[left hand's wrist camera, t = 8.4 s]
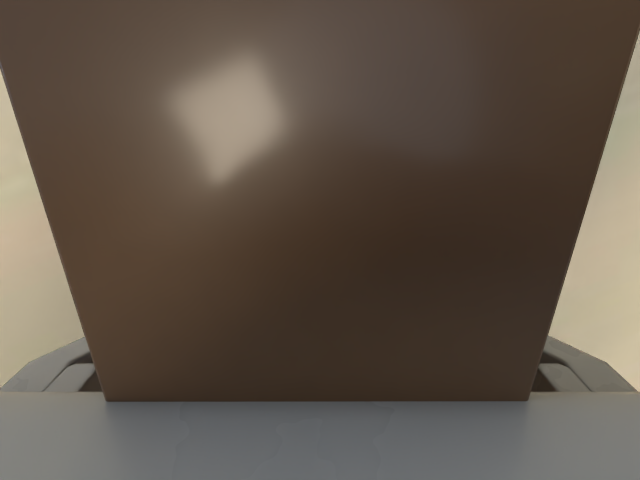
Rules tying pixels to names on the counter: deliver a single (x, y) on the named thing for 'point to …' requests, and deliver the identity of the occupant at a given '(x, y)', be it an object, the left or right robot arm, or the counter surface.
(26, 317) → the counter surface
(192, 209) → the box
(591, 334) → the counter surface
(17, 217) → the counter surface
